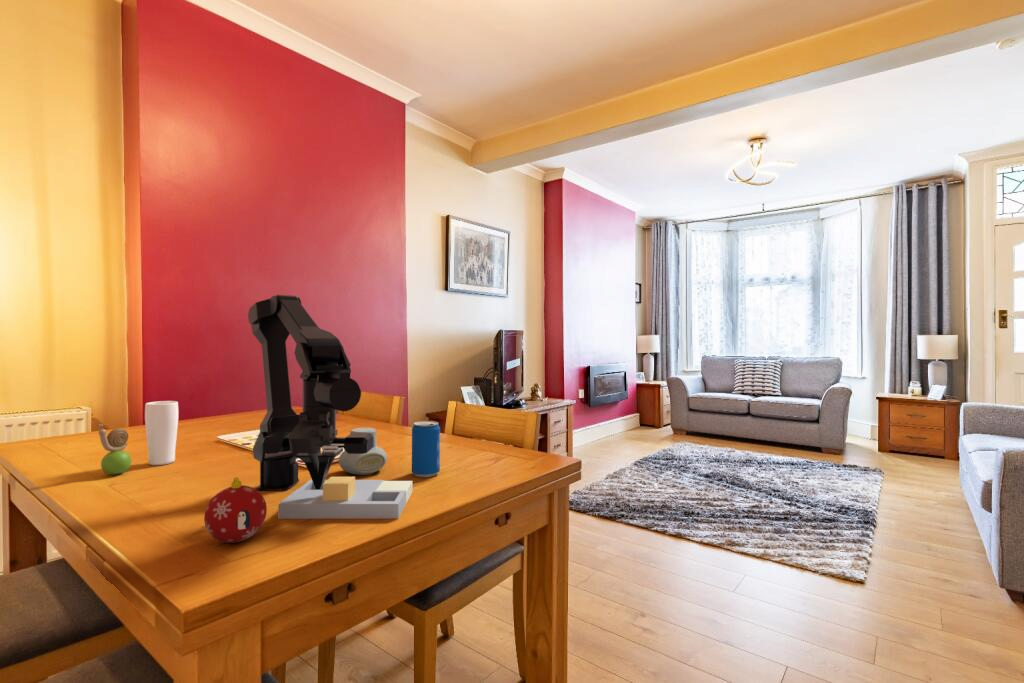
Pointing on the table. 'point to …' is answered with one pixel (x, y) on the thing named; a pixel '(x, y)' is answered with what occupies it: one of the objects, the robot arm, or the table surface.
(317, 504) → the trap board
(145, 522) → the table surface
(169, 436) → the drinking glass
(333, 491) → the ochre block
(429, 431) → the beverage can
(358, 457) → the air freshener
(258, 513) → the christmas ornament
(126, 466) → the snail figurine
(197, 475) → the table surface
